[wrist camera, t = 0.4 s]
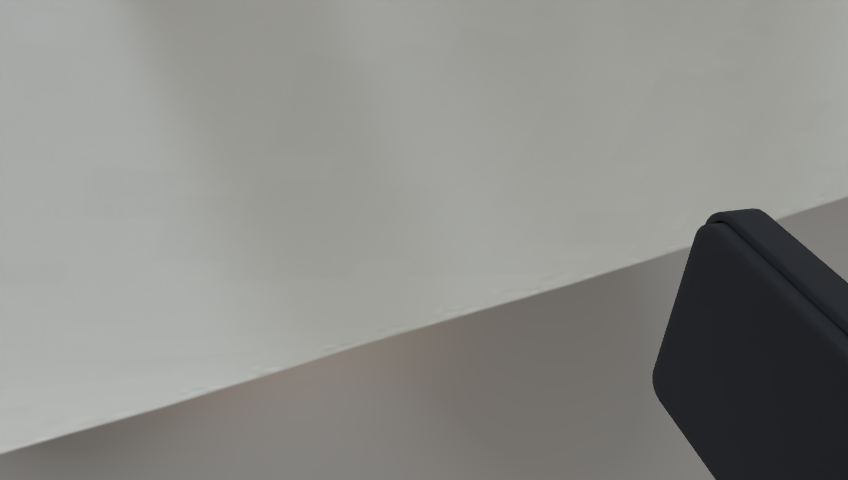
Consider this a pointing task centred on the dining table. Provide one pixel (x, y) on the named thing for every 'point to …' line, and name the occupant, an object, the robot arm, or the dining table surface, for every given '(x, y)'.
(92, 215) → the dining table surface
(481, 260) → the dining table surface
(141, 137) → the dining table surface
